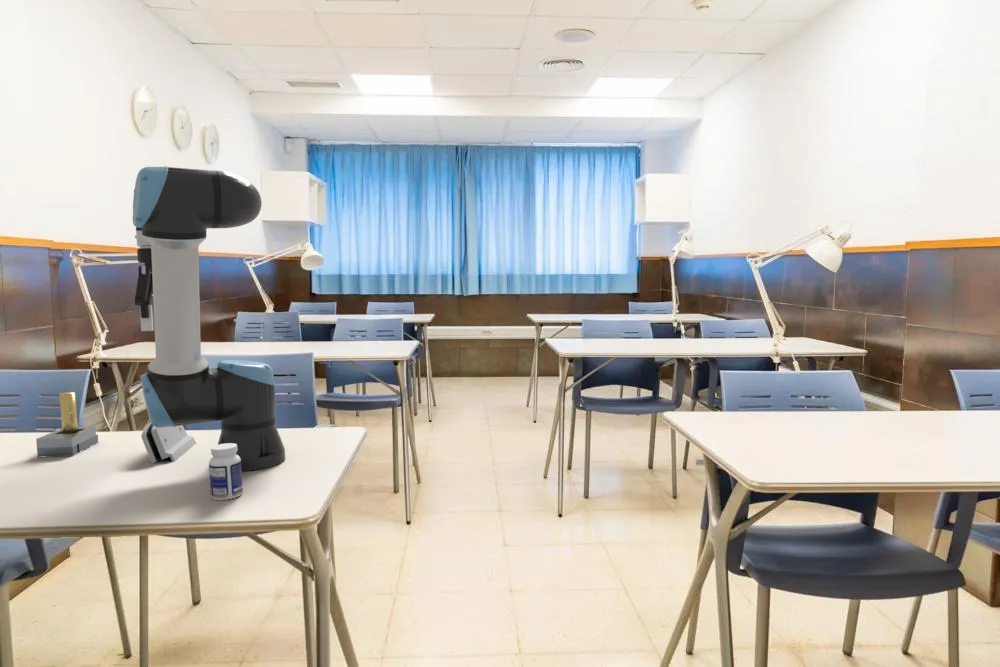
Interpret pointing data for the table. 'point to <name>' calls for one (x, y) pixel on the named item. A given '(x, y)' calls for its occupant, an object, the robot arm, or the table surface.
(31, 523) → the table surface
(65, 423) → the pin
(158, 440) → the white piece
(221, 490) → the pill bottle
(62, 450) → the grey block with pocket
